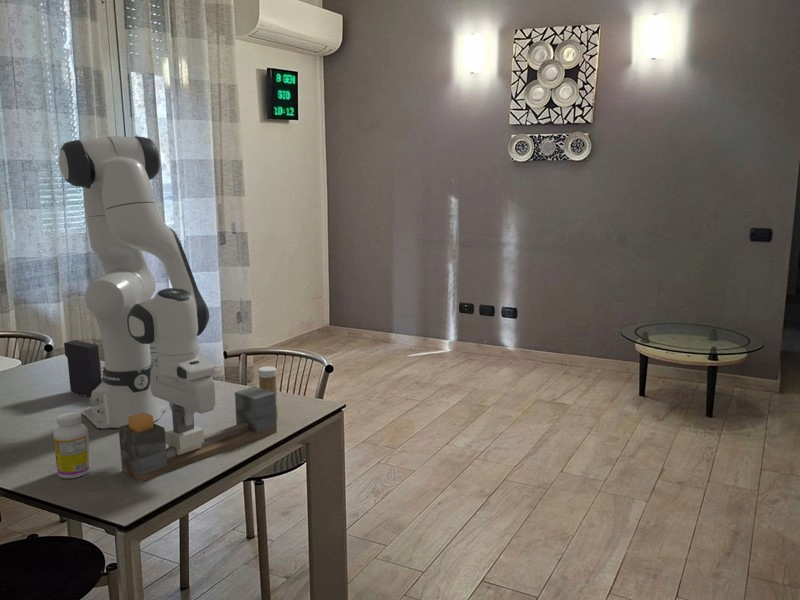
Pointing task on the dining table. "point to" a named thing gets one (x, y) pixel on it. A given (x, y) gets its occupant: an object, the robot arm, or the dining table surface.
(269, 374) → the sprinkles bottle
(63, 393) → the dining table surface
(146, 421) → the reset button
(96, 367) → the black rectangular box
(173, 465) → the rail frame
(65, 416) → the supplement bottle
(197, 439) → the carriage
